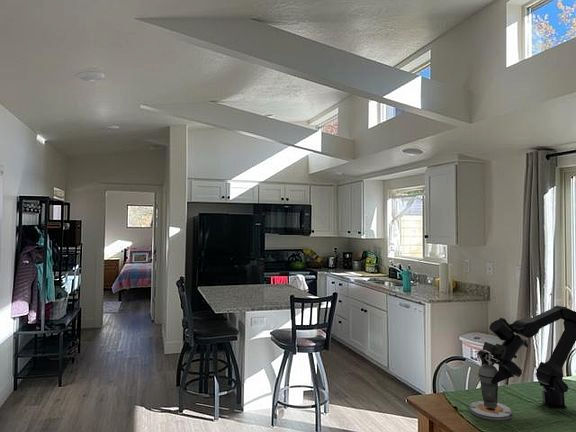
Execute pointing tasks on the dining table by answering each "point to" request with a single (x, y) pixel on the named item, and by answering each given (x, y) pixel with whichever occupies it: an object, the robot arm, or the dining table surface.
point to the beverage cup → (488, 385)
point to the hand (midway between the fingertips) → (485, 380)
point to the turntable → (490, 410)
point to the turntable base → (491, 418)
